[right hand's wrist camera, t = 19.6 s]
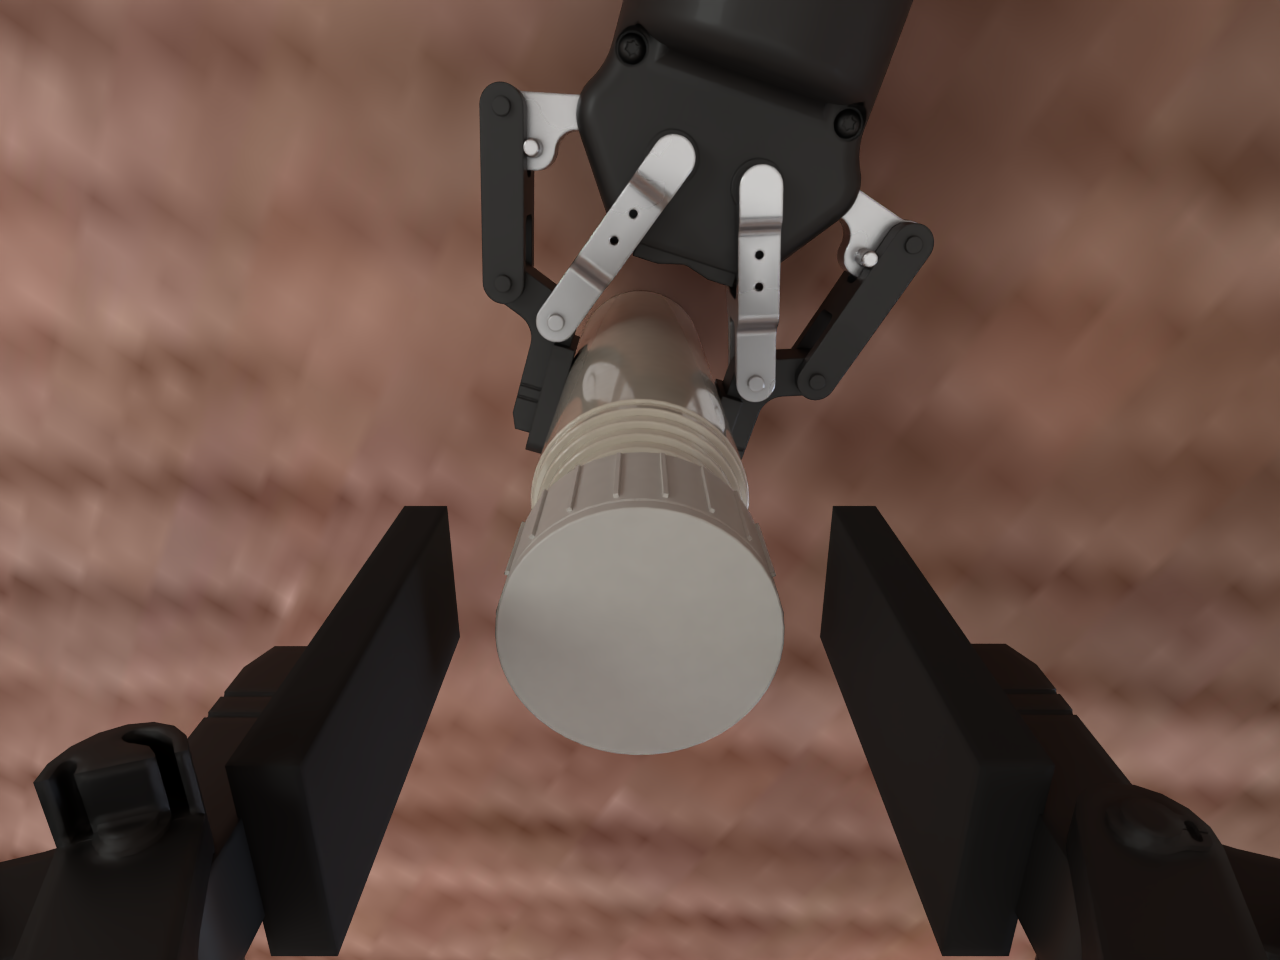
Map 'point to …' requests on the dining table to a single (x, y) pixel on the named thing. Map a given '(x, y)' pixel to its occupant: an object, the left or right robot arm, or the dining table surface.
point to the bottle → (640, 395)
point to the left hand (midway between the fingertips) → (618, 466)
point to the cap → (639, 606)
